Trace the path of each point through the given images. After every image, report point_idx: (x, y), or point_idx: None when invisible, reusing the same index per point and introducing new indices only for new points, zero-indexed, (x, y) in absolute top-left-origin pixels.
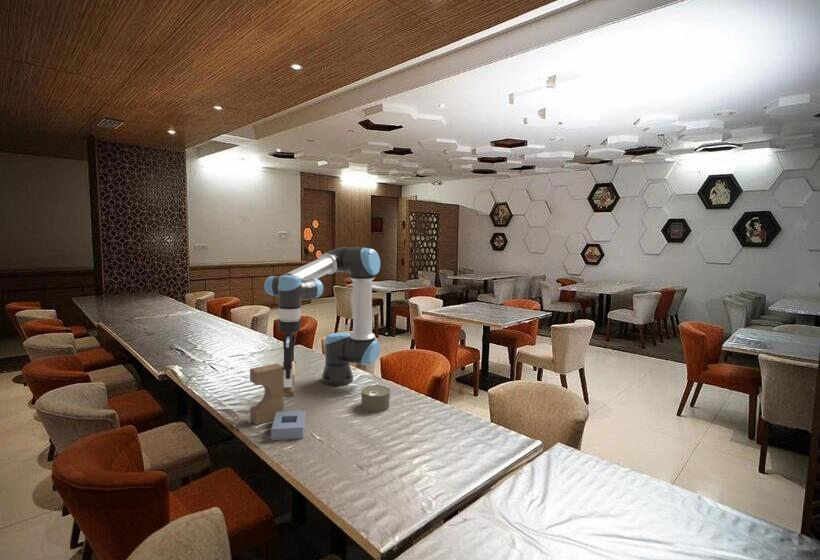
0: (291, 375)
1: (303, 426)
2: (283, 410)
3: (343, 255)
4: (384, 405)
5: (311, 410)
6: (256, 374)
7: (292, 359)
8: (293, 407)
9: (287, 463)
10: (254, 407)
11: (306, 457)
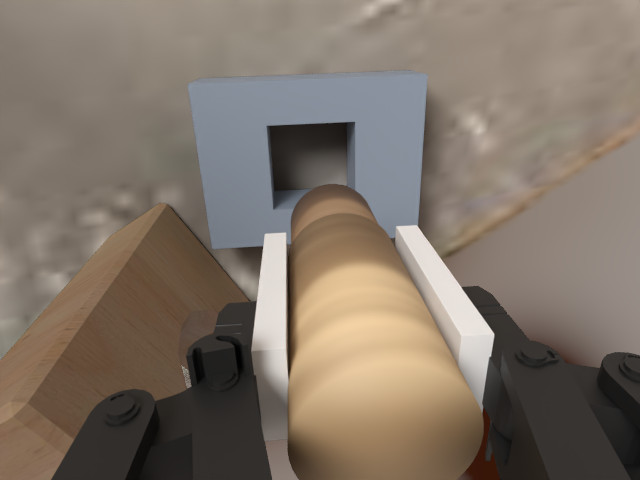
0: (456, 290)
1: (384, 74)
2: (154, 215)
3: None
4: None
5: (52, 51)
6: None
7: (262, 431)
8: (26, 167)
9: (613, 116)
10: None
11: (594, 34)
